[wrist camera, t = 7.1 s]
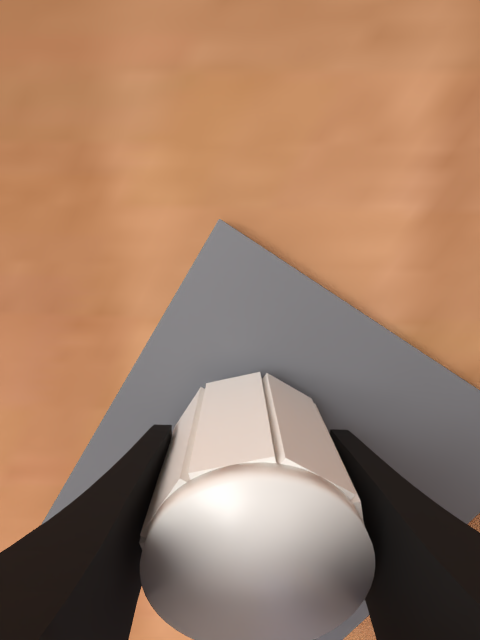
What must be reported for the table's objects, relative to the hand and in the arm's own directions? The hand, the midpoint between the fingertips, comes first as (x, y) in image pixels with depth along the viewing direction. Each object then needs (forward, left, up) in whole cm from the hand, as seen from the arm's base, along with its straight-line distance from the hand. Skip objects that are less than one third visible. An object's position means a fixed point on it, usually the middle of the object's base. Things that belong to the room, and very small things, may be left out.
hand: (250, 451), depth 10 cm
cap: (0, 0, -1) cm, 1 cm away
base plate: (-2, -3, -2) cm, 4 cm away
